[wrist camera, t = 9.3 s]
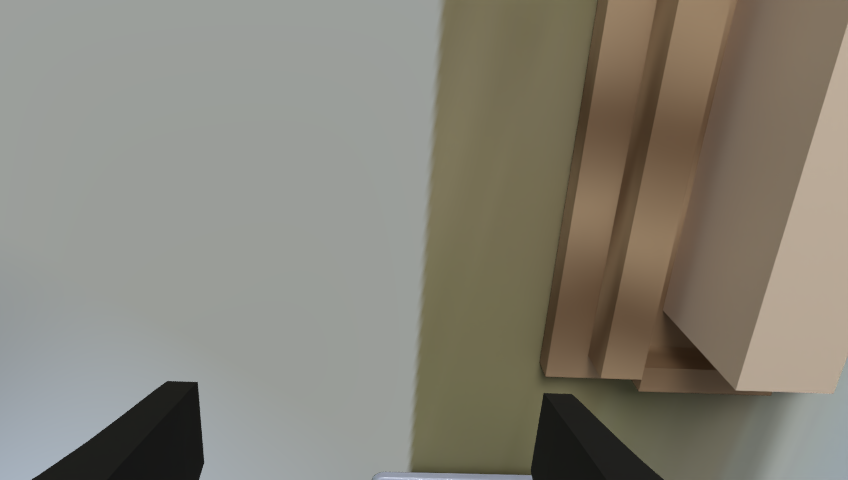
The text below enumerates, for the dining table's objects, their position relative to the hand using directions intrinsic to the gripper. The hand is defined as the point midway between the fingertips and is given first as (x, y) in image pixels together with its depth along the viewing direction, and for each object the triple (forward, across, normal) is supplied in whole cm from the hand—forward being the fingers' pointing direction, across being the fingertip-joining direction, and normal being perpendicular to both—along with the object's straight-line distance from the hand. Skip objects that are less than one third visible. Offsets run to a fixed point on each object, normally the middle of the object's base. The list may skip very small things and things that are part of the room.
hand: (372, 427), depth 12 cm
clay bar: (+9, -12, -4) cm, 16 cm away
